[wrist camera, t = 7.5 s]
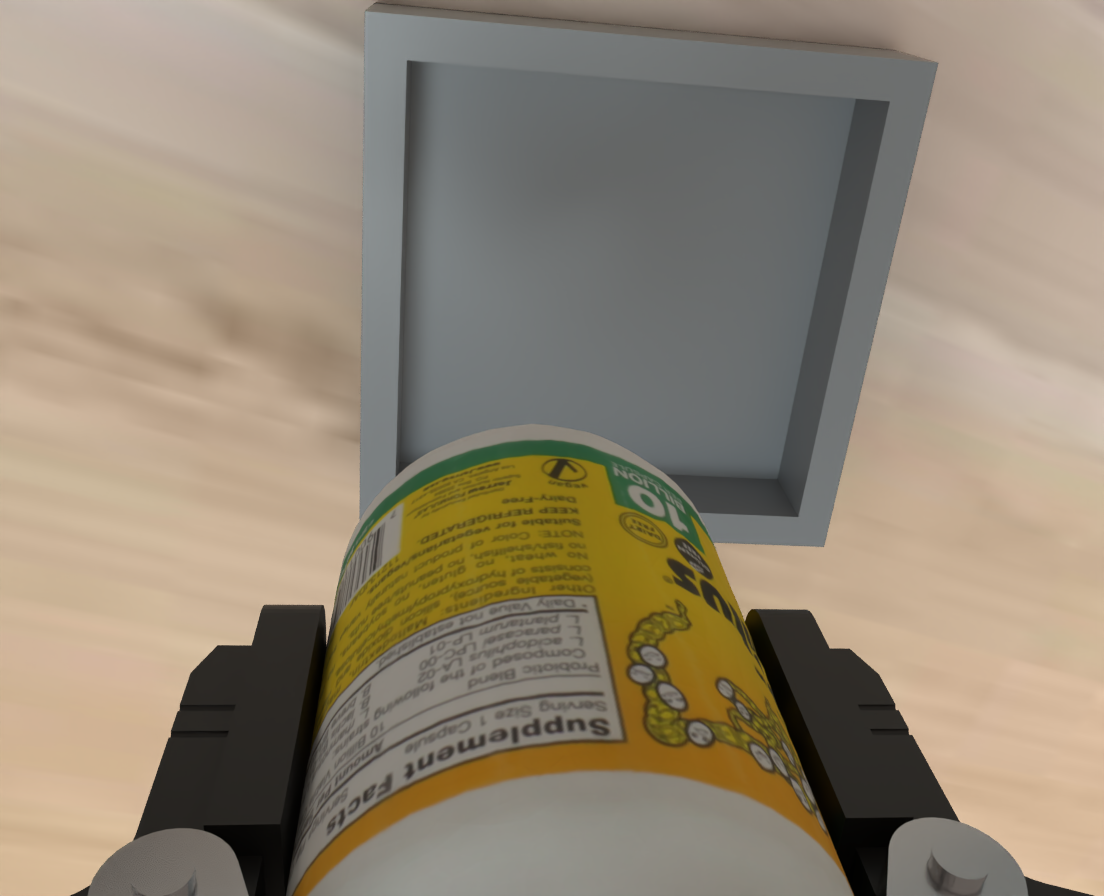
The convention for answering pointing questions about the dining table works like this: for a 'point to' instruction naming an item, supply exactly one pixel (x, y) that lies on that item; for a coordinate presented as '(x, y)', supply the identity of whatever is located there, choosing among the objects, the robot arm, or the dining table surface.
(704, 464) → the tray
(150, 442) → the dining table surface
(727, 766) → the supplement bottle
